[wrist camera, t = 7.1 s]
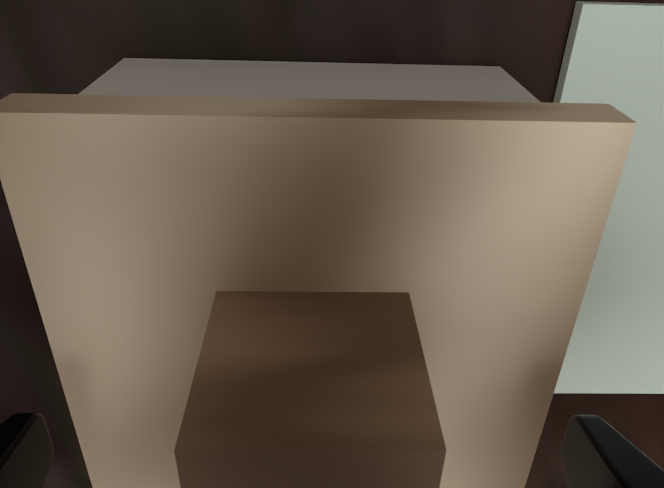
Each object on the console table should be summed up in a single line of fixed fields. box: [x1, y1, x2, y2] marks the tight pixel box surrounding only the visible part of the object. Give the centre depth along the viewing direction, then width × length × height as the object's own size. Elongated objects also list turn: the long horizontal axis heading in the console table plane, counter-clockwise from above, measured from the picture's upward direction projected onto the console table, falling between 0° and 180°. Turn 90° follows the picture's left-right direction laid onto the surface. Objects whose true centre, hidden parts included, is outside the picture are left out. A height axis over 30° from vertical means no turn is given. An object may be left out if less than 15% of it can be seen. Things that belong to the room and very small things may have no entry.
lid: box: [0, 93, 637, 488], centre depth 10 cm, size 10×10×4 cm
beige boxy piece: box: [79, 58, 540, 102], centre depth 14 cm, size 9×9×4 cm
